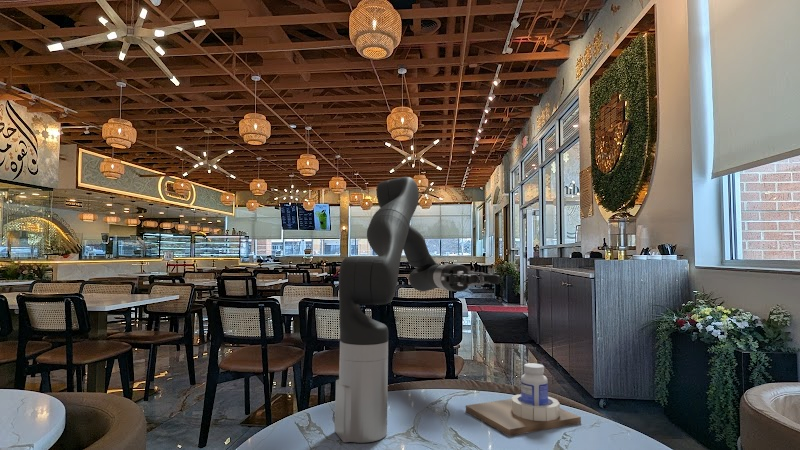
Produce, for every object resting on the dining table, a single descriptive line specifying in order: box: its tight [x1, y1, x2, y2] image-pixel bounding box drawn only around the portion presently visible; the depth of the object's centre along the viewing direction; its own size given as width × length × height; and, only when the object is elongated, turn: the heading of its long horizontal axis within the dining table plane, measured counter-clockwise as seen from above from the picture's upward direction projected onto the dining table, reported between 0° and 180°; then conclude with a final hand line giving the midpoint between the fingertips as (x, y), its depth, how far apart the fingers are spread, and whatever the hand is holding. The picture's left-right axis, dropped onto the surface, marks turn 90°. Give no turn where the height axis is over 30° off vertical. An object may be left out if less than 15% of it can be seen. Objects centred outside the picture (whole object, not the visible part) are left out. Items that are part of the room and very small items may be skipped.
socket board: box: [465, 398, 582, 437], centre depth 94 cm, size 18×15×1 cm
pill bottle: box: [520, 362, 549, 406], centre depth 94 cm, size 5×5×10 cm
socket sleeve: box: [510, 393, 561, 421], centre depth 93 cm, size 9×9×2 cm
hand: (484, 279), depth 112 cm, fingers open, 8 cm apart
